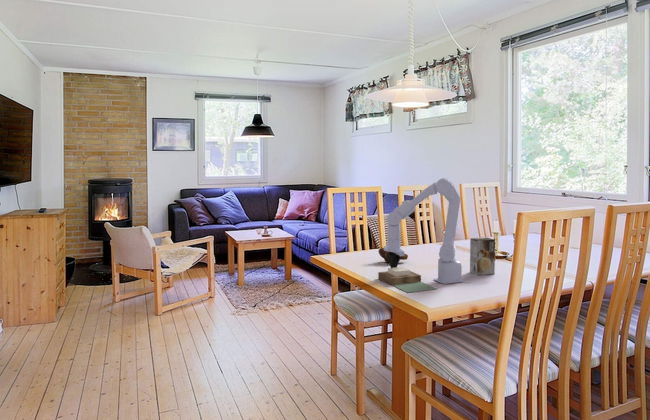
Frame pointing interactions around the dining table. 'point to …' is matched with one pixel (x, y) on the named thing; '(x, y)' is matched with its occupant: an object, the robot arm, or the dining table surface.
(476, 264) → the coffee box
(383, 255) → the decorative turtle
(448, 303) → the dining table surface
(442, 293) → the dining table surface
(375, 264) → the dining table surface
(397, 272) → the coaster
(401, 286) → the rubber mat
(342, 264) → the dining table surface
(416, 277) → the walnut step
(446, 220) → the robot arm
